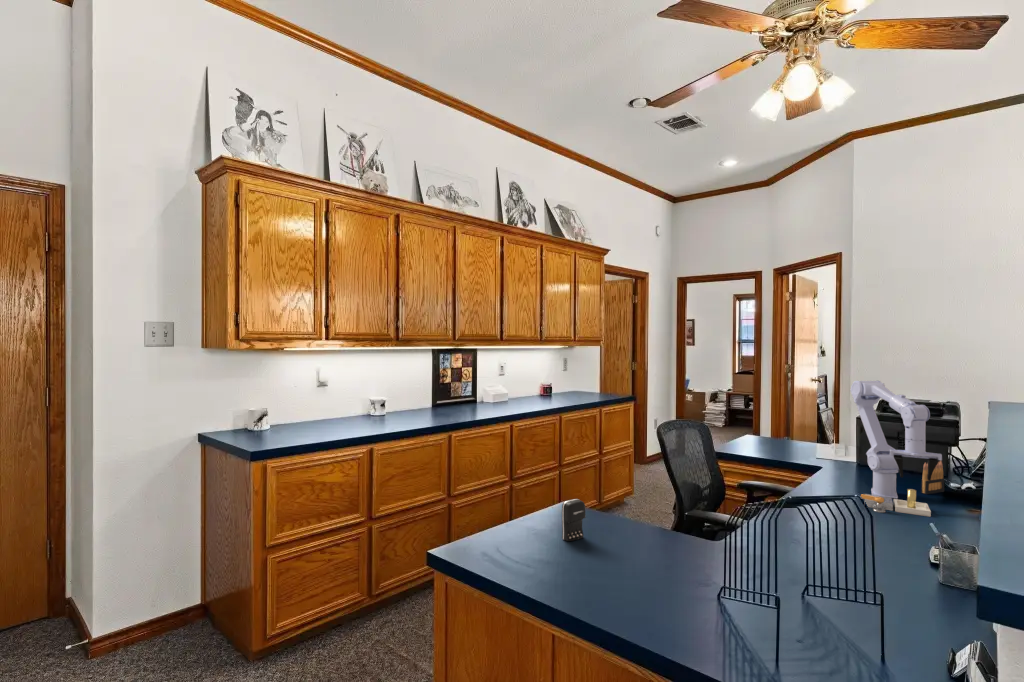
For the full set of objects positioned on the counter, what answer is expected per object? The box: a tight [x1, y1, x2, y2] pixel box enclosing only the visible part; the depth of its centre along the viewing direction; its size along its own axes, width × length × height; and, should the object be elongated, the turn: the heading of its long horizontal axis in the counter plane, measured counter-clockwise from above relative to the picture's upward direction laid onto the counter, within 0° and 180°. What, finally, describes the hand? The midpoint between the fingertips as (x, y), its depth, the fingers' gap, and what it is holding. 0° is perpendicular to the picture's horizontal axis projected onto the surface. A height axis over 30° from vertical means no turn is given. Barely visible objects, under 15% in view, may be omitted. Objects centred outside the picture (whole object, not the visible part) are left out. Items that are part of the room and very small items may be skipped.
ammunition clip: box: [920, 460, 945, 495], centre depth 208 cm, size 11×2×12 cm, turn 110°
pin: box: [906, 488, 917, 509], centre depth 187 cm, size 2×2×6 cm
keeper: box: [860, 493, 884, 502], centre depth 187 cm, size 7×3×1 cm, turn 44°
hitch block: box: [864, 493, 894, 514], centre depth 190 cm, size 13×8×3 cm, turn 148°
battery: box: [561, 498, 586, 542], centre depth 161 cm, size 7×4×11 cm, turn 123°
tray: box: [892, 498, 932, 517], centre depth 187 cm, size 10×10×2 cm
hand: (915, 478), depth 189 cm, fingers open, 7 cm apart
